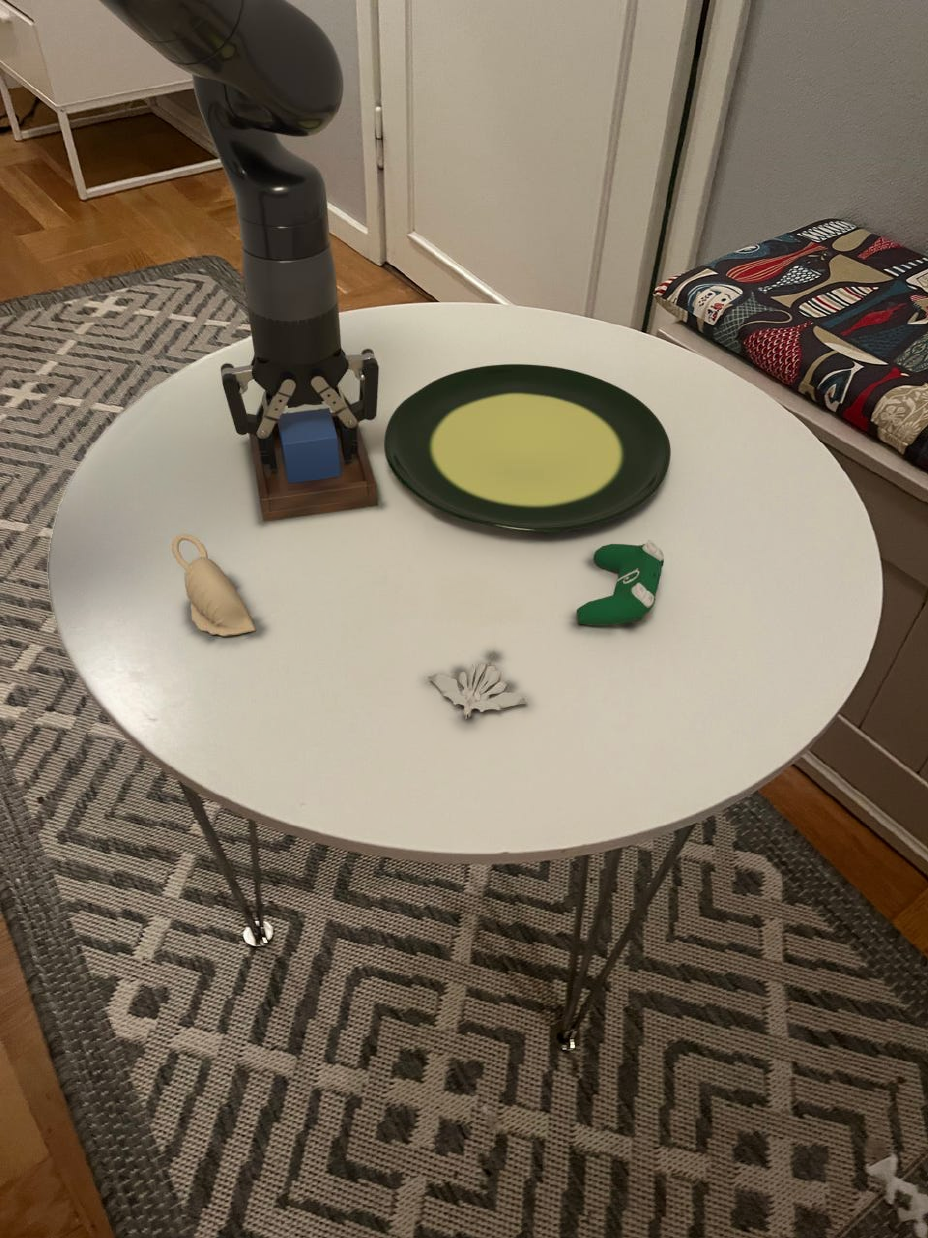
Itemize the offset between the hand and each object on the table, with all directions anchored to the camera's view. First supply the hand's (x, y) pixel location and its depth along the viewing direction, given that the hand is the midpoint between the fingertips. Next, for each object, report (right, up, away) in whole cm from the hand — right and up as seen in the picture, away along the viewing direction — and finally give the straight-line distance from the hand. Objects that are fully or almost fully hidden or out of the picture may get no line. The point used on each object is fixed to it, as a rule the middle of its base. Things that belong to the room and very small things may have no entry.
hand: (310, 459), depth 91 cm
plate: (+21, +1, +4) cm, 21 cm away
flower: (+16, -21, -17) cm, 31 cm away
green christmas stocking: (+28, -14, -10) cm, 33 cm away
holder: (0, -1, +1) cm, 2 cm away
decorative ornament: (-6, -15, -12) cm, 20 cm away
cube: (0, 0, 0) cm, 1 cm away
